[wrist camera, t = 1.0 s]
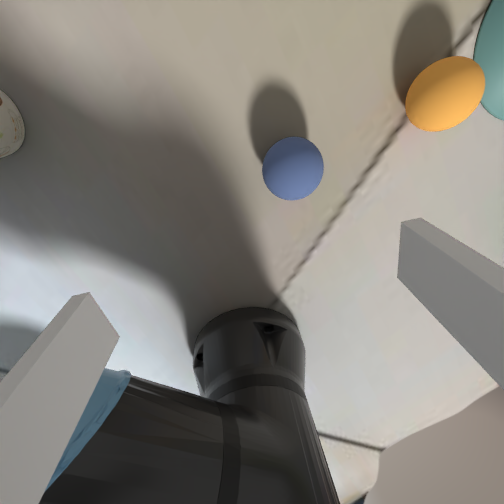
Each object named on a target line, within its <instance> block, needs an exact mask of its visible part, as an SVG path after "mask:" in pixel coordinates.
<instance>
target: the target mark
mask: <svg viewBox="0 0 504 504" xmlns="http://www.w3.org/2000/svg"><path fill="white" fill-rule="evenodd" d="M473 60H474V61H475V62H476V63H478V64H479V66H480V67H481V68H482V70H483V72H484V76H485V90H484V94H483V96H482V99H481V101H480V102H481V104H482V105H483V107H484V108H485V109H486V110H487V111H488V112H489V113H490V114H491V115H493V116H494V117H496V118H498V119H501V120H504V0H492V2H491V4H490V6H489V8H488V10H487V12H486V14H485V17H484V19H483V22H482V24H481V27H480V30H479V34H478V37H477V41H476V45H475V50H474V58H473Z"/></svg>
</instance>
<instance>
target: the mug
mask: <svg viewBox="0 0 504 504" xmlns="http://www.w3.org/2000/svg"><path fill="white" fill-rule="evenodd" d="M24 135H25V128H24V122H23V119H22V117H21V114H20V112H19V110H18V109H17V107H16V105H15V104H14V103H13V101H12V100H11V99H10V98H9V97H8V96H7V95H6V94H5V93H4V92H3V91H2V90H0V158H3V157H5V156H8V155H10V154H12V153H14V152H15V151H17V150H18V149H19V148H20V146H21V145H22V143H23V140H24Z"/></svg>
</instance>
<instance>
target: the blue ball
mask: <svg viewBox="0 0 504 504" xmlns="http://www.w3.org/2000/svg"><path fill="white" fill-rule="evenodd" d="M323 167H324V166H323V159H322V156H321V153H320V151H319V150H318V148H317V147H316V146H315V145H314V144H313V143H312V142H310V141H309V140H307V139H304V138H301V137H288V138H284V139H282V140H280V141H278V142H276V143H275V144H274V145H273V146H272V147H271V148H270V149H269V151H268V152H267V154H266V156H265V158H264V161H263V166H262V173H263V179H264V181H265V184H266V186H267V187H268V189H269V190H270V191H271V192H272V193H273V194H274V195H276V196H277V197H279V198H282V199H285V200H298V199H301V198H304V197H306V196H308V195H309V194H311V193H312V192H313V191H314V190H315V189H316V188H317V186H318V185H319V183H320V181H321V178H322V175H323Z"/></svg>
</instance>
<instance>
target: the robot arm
mask: <svg viewBox="0 0 504 504" xmlns="http://www.w3.org/2000/svg"><path fill="white" fill-rule="evenodd" d="M397 278H398V279H399V280H400V281H401V282H402V283H403V284H404V285H405V286H406V287H407V288H408V289H409V290H410V291H411V292H412V293H413V295H414V296H415V297H416V298H417V299H418V300H419V301H420V302H421V303H422V304H423V305H424V306H425V307H426V308H427V309H428V310H429V311H430V313H431V314H432V315H433V316H434V317H435V318H436V319H437V320H438V321H439V322H440V323H441V324H442V325H443V326H444V327H445V328H446V329H447V330H448V332H449V333H450V334H451V335H452V336H453V337H454V338H455V339H456V340H457V341H458V342H459V343H460V344H461V345H462V346H463V347H464V348H465V350H466V351H467V352H468V353H469V354H470V355H471V356H472V357H473V358H474V359H475V360H476V361H477V362H478V363H479V364H480V365H481V366H482V368H483V369H484V370H485V371H486V372H487V373H488V374H489V375H490V376H491V377H492V378H493V379H494V380H495V381H496V382H497V383H498V384H499V385H500V387H501V388H502V389H503V390H504V268H503V267H501V266H500V265H498V264H496V263H495V262H493V261H491V260H490V259H488V258H486V257H485V256H483V255H481V254H480V253H478V252H476V251H475V250H473V249H472V248H470V247H468V246H467V245H465V244H463V243H462V242H460V241H458V240H457V239H455V238H453V237H452V236H450V235H448V234H447V233H445V232H444V231H442V230H440V229H439V228H437V227H435V226H434V225H432V224H430V223H429V222H427V221H425V220H424V219H422V218H417V219H412V220H408V221H404V222H401V232H400V246H399V260H398V274H397ZM119 337H120V336H119V335H118V333H117V332H116V330H115V329H114V328H113V326H112V325H111V323H110V322H109V320H108V319H107V317H106V316H105V314H104V313H103V311H102V310H101V309H100V307H99V306H98V304H97V303H96V301H95V300H94V298H93V297H92V295H91V294H90V292H88V293H84V294H79V295H75V296H72V297H71V298H70V300H69V301H68V302H67V303H66V304H65V305H64V307H63V308H62V309H61V310H60V311H59V313H58V314H57V315H56V316H55V317H54V319H53V320H52V321H51V322H50V323H49V325H48V326H47V327H46V328H45V329H44V331H43V332H42V333H41V334H40V335H39V337H38V338H37V339H36V340H35V341H34V343H33V344H32V345H31V346H30V347H29V349H28V350H27V351H26V352H25V353H24V355H23V356H22V357H21V358H20V359H19V361H18V362H17V363H16V364H15V365H14V367H13V368H12V369H11V370H10V371H9V372H8V374H7V375H6V376H5V377H4V378H3V380H2V381H1V382H0V504H340V502H339V499H338V496H337V492H336V489H335V486H334V483H333V480H332V477H331V474H330V471H329V468H328V464H327V461H326V458H325V455H324V452H323V449H322V446H321V443H320V439H319V436H318V433H317V430H316V427H315V424H314V421H313V418H312V415H311V411H310V408H309V406H308V402H307V399H306V396H305V392H304V384H305V348H304V344H303V341H302V338H301V335H300V333H299V331H298V329H297V327H296V326H295V324H294V323H293V322H292V321H291V320H290V319H288V318H287V317H286V316H284V315H282V314H280V313H278V312H276V311H273V310H269V309H264V308H242V309H236V310H233V311H230V312H227V313H224V314H222V315H220V316H218V317H217V318H215V319H213V320H212V321H211V322H209V323H208V324H207V325H206V326H205V327H204V328H203V330H202V331H201V332H200V334H199V335H198V337H197V340H196V342H195V347H194V355H193V369H194V373H195V377H196V381H197V384H198V388H199V392H200V395H201V396H198V395H195V394H192V393H189V392H185V391H182V390H179V389H175V388H172V387H169V386H166V385H162V384H159V383H156V382H152V381H149V380H146V379H142V378H139V377H136V376H133V375H131V373H130V372H129V371H126V370H121V371H115V370H110V369H106V368H105V366H106V364H107V362H108V360H109V358H110V356H111V354H112V352H113V350H114V348H115V346H116V343H117V341H118V339H119Z"/></svg>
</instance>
